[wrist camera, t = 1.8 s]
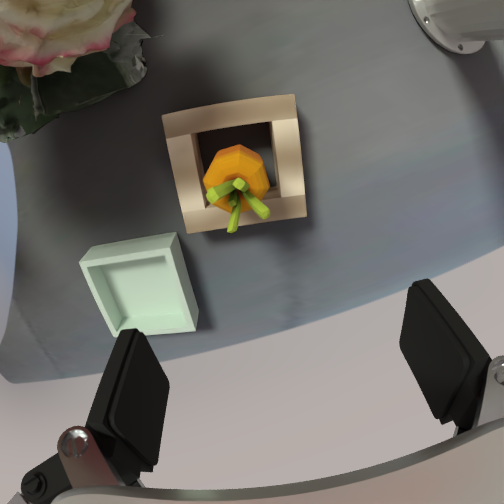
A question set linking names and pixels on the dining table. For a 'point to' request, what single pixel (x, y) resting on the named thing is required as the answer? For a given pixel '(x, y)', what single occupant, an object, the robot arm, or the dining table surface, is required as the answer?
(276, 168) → the wooden stand
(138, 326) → the tray
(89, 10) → the rose bouquet
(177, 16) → the dining table surface
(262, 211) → the carrot
